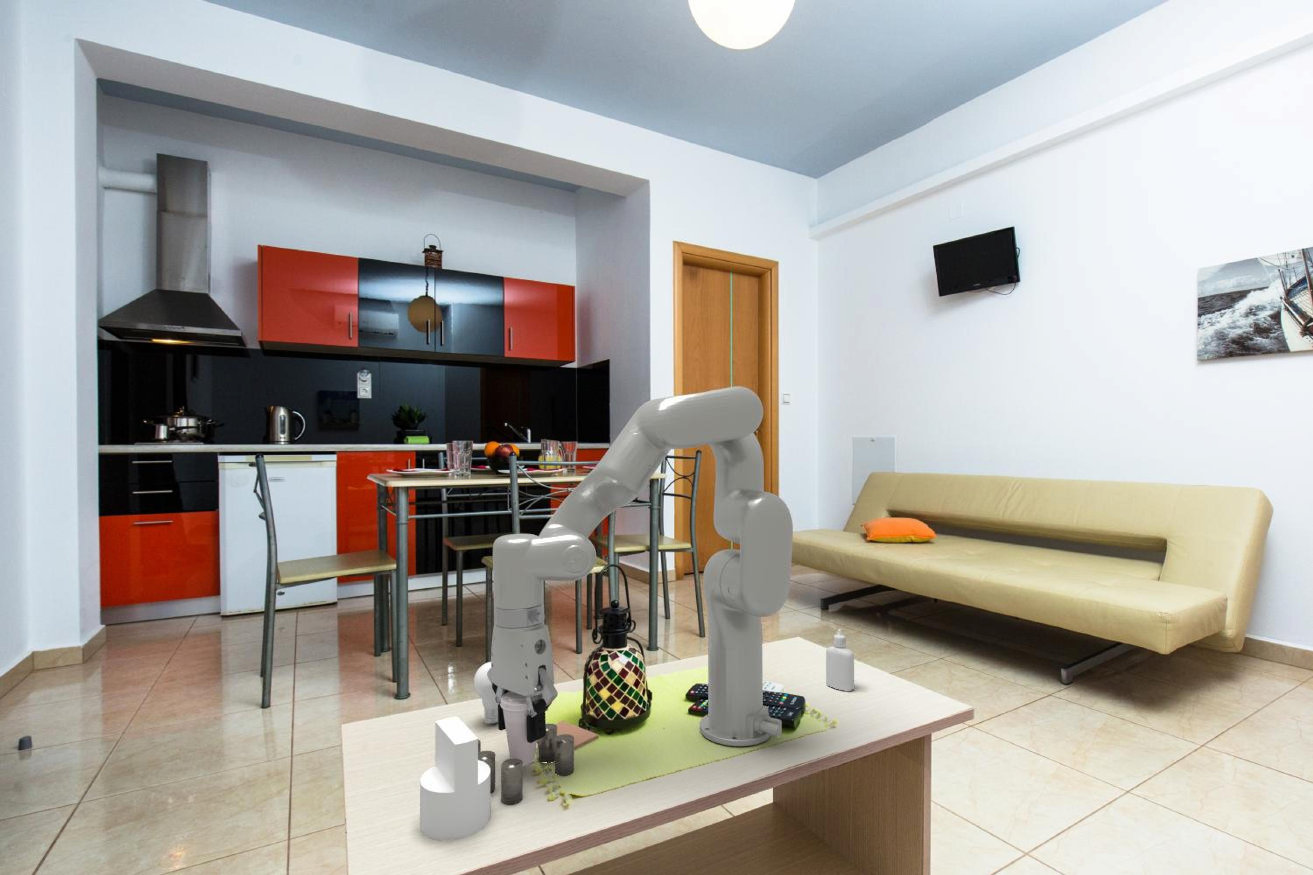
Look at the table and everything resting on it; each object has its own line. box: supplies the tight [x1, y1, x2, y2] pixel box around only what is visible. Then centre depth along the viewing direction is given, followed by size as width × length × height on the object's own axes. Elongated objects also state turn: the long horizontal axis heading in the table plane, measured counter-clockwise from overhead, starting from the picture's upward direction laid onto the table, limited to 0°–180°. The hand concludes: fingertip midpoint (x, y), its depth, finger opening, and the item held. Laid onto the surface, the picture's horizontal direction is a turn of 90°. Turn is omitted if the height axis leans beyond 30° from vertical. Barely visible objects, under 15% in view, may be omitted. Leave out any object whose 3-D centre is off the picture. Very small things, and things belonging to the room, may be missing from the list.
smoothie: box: [500, 689, 539, 766], centre depth 98 cm, size 6×6×14 cm
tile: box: [536, 720, 599, 751], centre depth 109 cm, size 9×8×1 cm
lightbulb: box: [473, 661, 498, 725], centre depth 115 cm, size 6×6×11 cm
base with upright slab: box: [419, 716, 491, 841], centre depth 85 cm, size 9×9×12 cm
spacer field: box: [478, 723, 575, 806], centre depth 97 cm, size 13×15×5 cm
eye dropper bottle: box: [825, 628, 855, 692], centre depth 132 cm, size 4×6×12 cm
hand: (521, 731), depth 98 cm, fingers closed on smoothie, 6 cm apart
